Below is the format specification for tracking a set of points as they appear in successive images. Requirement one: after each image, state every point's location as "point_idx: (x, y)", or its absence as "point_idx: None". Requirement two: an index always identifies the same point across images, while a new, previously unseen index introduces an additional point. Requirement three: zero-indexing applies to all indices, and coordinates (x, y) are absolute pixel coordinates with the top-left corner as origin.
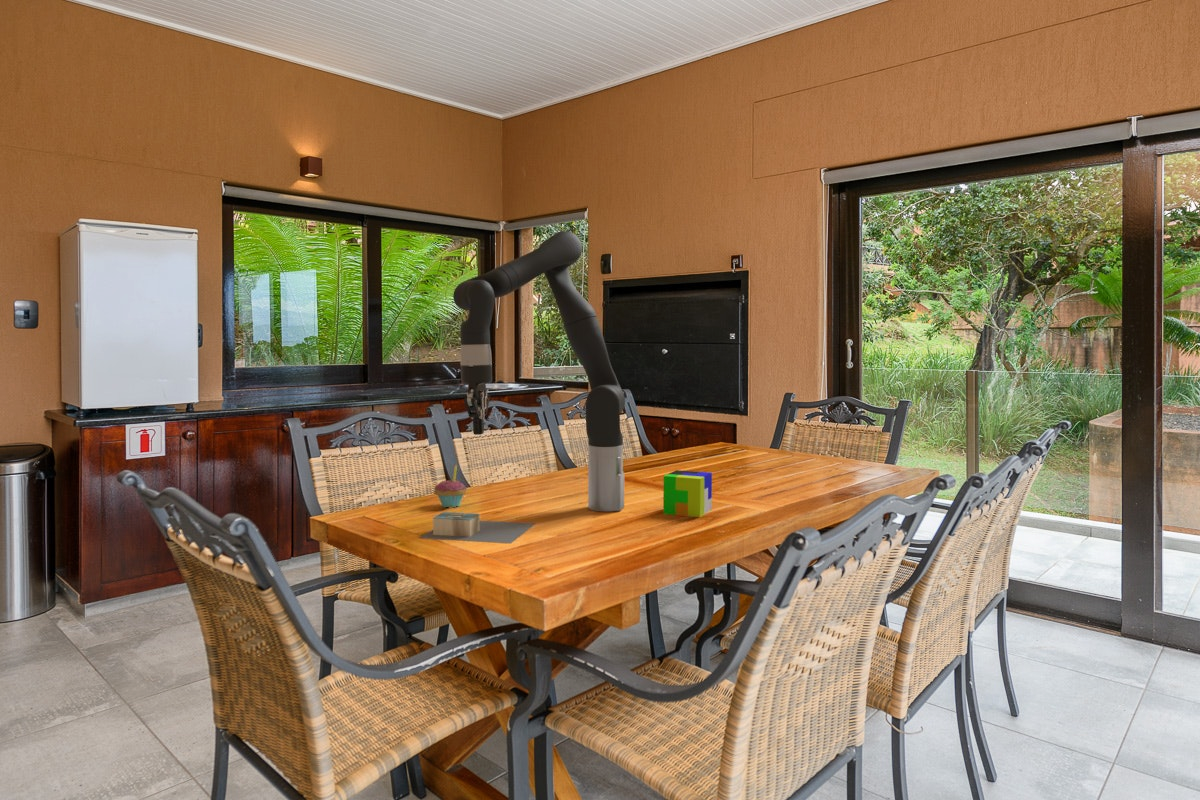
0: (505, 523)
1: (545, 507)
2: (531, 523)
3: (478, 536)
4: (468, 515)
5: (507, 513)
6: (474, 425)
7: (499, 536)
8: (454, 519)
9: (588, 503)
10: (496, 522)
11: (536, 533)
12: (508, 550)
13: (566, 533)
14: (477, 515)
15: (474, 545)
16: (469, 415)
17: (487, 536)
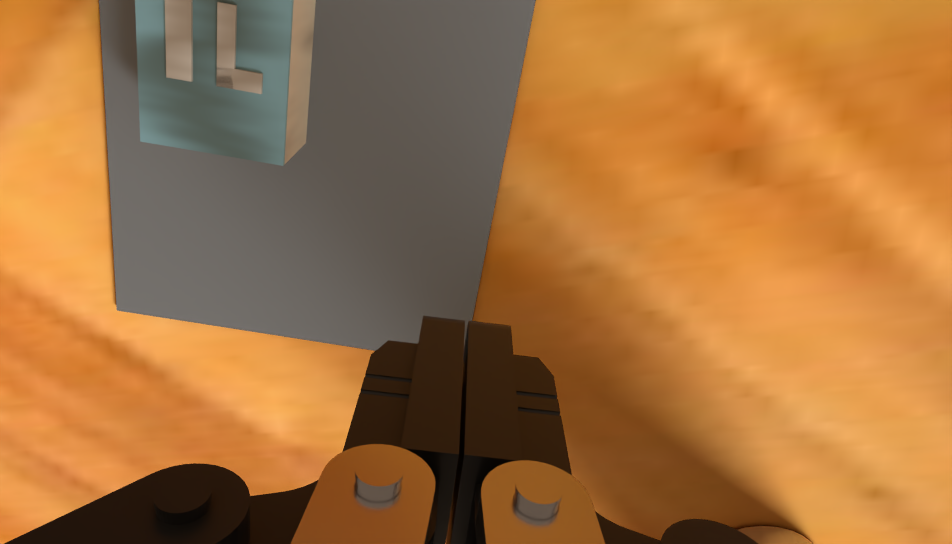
0: (455, 240)
1: (814, 366)
2: None
3: (192, 160)
4: (232, 114)
5: (702, 211)
6: (356, 412)
7: (212, 251)
8: (139, 49)
9: (763, 541)
10: (473, 196)
11: (315, 377)
12: (37, 309)
13: None
14: (256, 160)
15: (67, 165)
16: (112, 508)
17: (201, 200)
